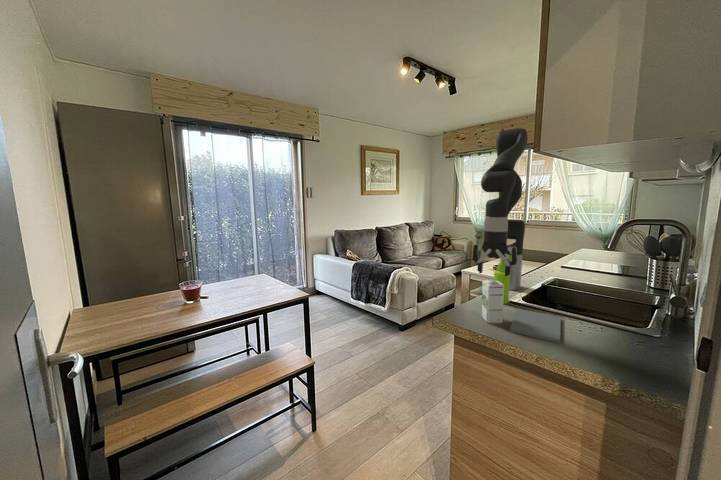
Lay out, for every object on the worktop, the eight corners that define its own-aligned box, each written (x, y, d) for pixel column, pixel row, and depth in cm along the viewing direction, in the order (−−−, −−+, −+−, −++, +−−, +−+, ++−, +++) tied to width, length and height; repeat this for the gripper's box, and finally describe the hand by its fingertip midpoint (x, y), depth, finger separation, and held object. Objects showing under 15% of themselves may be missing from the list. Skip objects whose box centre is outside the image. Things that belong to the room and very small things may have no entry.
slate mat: (517, 311, 112) (517, 308, 112) (560, 319, 104) (560, 316, 104) (509, 331, 96) (509, 328, 96) (559, 343, 88) (560, 340, 88)
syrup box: (503, 323, 102) (505, 284, 100) (486, 323, 103) (488, 284, 100) (496, 316, 108) (498, 279, 106) (480, 316, 108) (482, 280, 106)
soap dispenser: (513, 303, 120) (516, 257, 117) (496, 304, 120) (498, 257, 117) (506, 298, 126) (509, 254, 122) (490, 298, 126) (492, 254, 123)
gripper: (520, 229, 99) (517, 274, 101) (476, 227, 107) (475, 269, 109) (517, 231, 93) (513, 279, 95) (471, 229, 101) (469, 273, 103)
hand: (493, 274), depth 102 cm, fingers open, 8 cm apart
